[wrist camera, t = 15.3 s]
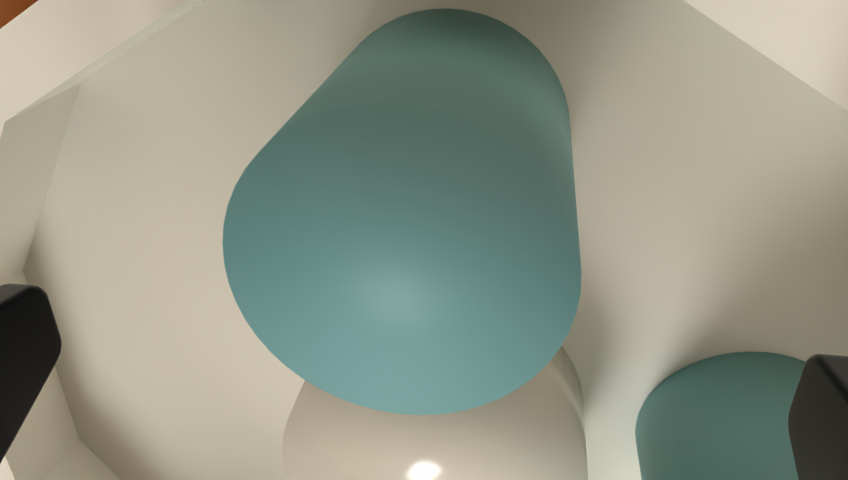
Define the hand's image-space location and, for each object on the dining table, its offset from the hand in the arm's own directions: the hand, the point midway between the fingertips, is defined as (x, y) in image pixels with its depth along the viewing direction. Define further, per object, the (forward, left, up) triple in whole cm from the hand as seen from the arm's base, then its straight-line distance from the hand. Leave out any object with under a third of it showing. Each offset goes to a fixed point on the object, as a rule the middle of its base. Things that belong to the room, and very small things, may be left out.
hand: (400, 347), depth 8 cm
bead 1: (+1, 0, -5) cm, 5 cm away
